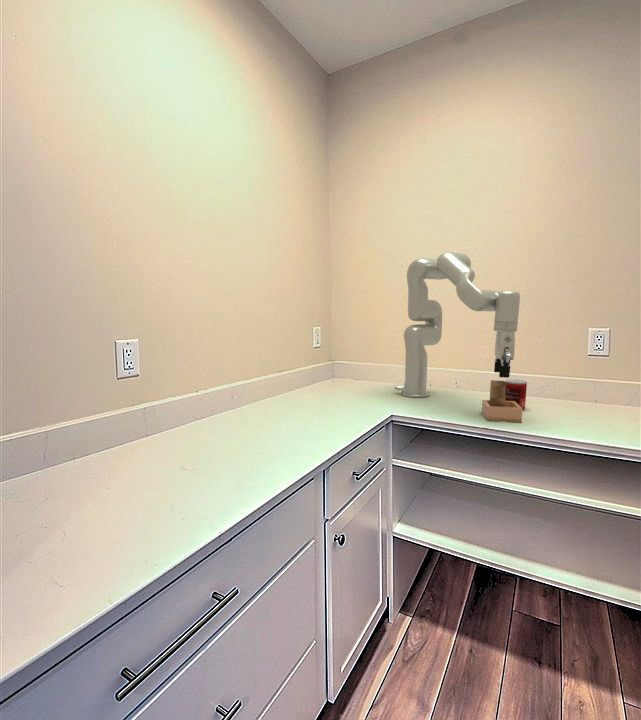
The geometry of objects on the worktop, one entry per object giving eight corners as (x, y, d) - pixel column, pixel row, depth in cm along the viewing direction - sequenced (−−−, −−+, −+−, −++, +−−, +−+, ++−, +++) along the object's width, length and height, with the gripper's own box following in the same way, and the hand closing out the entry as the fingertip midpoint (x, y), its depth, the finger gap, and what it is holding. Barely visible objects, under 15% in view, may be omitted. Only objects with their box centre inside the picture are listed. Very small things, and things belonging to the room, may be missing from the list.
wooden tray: (486, 420, 148) (487, 406, 147) (481, 412, 159) (482, 399, 158) (521, 422, 145) (522, 408, 145) (514, 414, 157) (514, 401, 156)
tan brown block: (490, 414, 151) (492, 381, 150) (489, 412, 154) (490, 380, 153) (503, 415, 150) (505, 382, 149) (502, 413, 153) (504, 380, 152)
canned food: (520, 406, 170) (522, 379, 168) (528, 411, 162) (530, 382, 160) (500, 405, 170) (502, 378, 169) (507, 410, 162) (509, 382, 161)
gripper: (523, 329, 139) (518, 380, 142) (511, 325, 156) (507, 371, 158) (498, 328, 141) (494, 378, 143) (490, 324, 157) (486, 370, 160)
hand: (501, 374), depth 151 cm, fingers open, 9 cm apart
